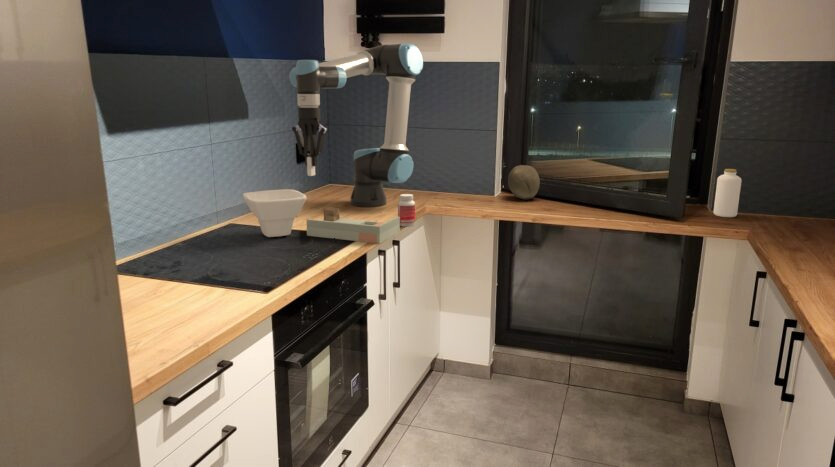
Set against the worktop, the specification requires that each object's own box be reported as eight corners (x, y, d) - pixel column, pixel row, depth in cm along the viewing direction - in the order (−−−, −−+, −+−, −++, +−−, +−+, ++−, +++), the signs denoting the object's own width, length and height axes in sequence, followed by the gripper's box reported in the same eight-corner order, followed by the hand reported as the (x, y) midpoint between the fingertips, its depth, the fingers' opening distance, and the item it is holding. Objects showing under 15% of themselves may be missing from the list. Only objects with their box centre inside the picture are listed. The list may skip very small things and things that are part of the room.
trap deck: (330, 225, 225) (330, 210, 224) (399, 232, 216) (399, 216, 214) (307, 235, 211) (306, 219, 210) (379, 243, 201) (379, 226, 200)
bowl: (255, 245, 198) (252, 202, 195) (242, 232, 215) (239, 192, 212) (312, 239, 207) (310, 197, 203) (295, 226, 223) (293, 188, 220)
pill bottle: (418, 225, 225) (418, 195, 223) (404, 227, 222) (403, 197, 219) (409, 222, 230) (409, 192, 228) (394, 224, 227) (394, 194, 224)
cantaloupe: (544, 198, 277) (545, 164, 273) (531, 203, 265) (533, 168, 262) (514, 195, 284) (515, 162, 281) (501, 200, 273) (502, 165, 269)
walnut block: (329, 218, 223) (329, 207, 222) (339, 219, 222) (339, 208, 221) (323, 220, 220) (323, 209, 219) (333, 221, 218) (333, 210, 217)
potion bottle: (736, 214, 245) (742, 168, 241) (737, 218, 238) (743, 171, 234) (713, 212, 249) (718, 167, 244) (713, 216, 241) (718, 170, 237)
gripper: (286, 106, 213) (289, 175, 219) (320, 107, 208) (322, 178, 214) (298, 105, 220) (301, 172, 225) (331, 106, 215) (333, 175, 221)
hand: (311, 175), depth 220 cm, fingers closed
